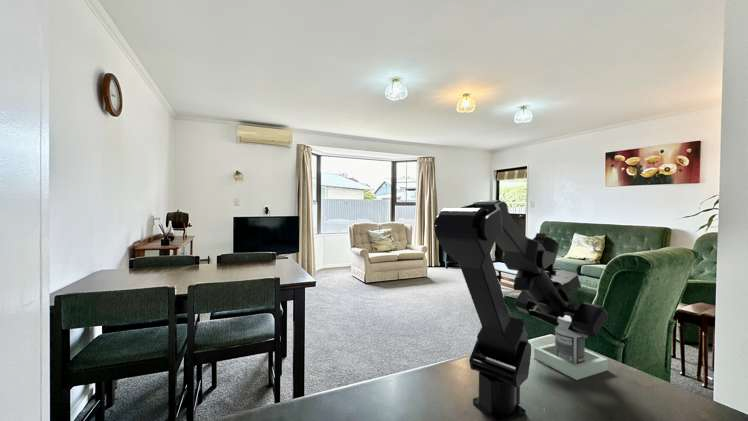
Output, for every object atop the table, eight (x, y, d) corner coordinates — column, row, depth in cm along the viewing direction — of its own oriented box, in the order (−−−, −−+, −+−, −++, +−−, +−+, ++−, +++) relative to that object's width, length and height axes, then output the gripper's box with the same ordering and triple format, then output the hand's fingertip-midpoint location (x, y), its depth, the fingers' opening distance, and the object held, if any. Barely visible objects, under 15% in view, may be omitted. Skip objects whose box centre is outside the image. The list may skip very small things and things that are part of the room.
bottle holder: (576, 380, 65) (576, 368, 65) (534, 358, 75) (534, 347, 75) (607, 370, 69) (607, 359, 69) (563, 350, 79) (563, 340, 78)
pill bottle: (575, 357, 74) (576, 314, 74) (590, 368, 69) (590, 323, 69) (550, 355, 75) (550, 313, 75) (562, 367, 69) (562, 322, 69)
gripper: (602, 267, 62) (635, 316, 66) (523, 254, 79) (554, 294, 83) (575, 311, 58) (611, 360, 63) (499, 288, 76) (532, 328, 80)
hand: (573, 331), depth 72 cm, fingers closed on pill bottle, 6 cm apart
